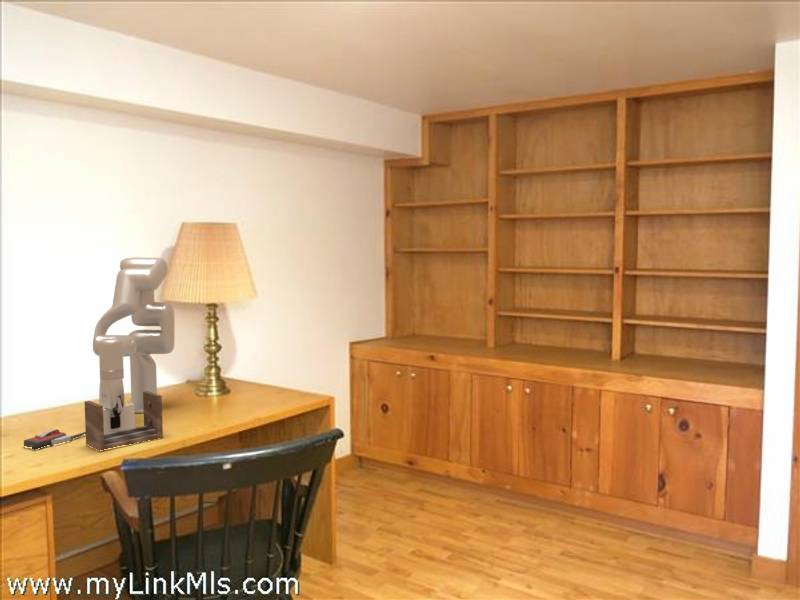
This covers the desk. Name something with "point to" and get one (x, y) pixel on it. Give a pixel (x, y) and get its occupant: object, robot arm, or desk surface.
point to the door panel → (125, 419)
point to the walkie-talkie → (49, 438)
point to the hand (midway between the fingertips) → (113, 426)
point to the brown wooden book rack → (124, 437)
